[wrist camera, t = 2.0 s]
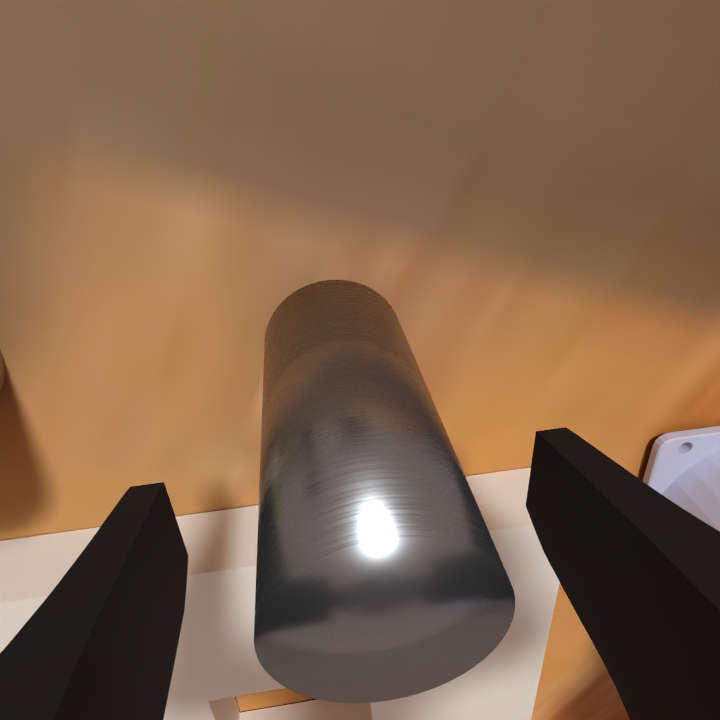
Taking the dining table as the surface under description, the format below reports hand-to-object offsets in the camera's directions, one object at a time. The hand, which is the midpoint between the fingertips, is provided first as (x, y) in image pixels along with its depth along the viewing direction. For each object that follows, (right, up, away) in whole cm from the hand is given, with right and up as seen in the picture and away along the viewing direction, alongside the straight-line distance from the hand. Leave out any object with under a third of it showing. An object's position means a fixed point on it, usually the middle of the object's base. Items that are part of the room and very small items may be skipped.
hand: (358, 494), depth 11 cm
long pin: (-1, +3, +5) cm, 6 cm away
